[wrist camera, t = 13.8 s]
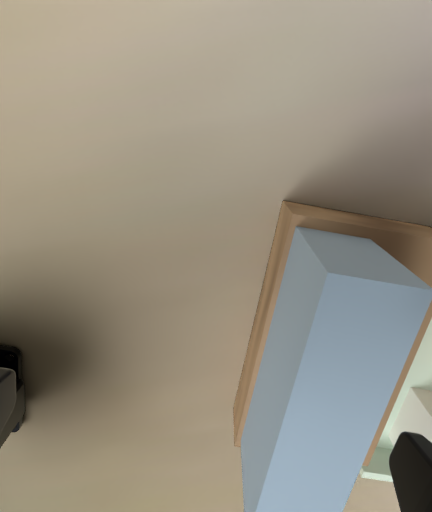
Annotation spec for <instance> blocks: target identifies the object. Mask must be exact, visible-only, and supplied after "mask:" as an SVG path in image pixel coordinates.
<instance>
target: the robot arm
mask: <svg viewBox="0 0 432 512" xmlns="http://www.w3.org/2000/svg"><path fill="white" fill-rule="evenodd" d="M10 354H11V355H13V356H14V357H12V356H11V355H10ZM24 413H25V387H24V382H23V380H22V355H21V352H20V350H19V349H17V348H15V347H10V346H4V345H0V448H1V446H2V445H3V443H4V442H5V441H6V439H7V438H8V436H9V435H10V433H11V432H17V431H18V430H19V429H20V427H21V426H22V423H23V420H22V416H23V415H24ZM389 468H390V472H391V476H392V480H393V483H394V487H395V491H396V495H397V499H398V502H399V506H400V510H401V512H432V443H431V442H430V441H429V440H428V439H427V438H425V437H424V436H423V435H421V434H418V433H413V432H407V431H404V432H402V433H400V435H399V436H398V439H397V441H396V443H395V445H394V447H393V450H392V452H391V454H390V457H389Z"/></svg>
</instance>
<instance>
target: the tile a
mask: <svg viewBox="0 0 432 512" xmlns="http://www.w3.org/2000/svg"><path fill="white" fill-rule="evenodd" d="M404 431H407V432H413V433H418V434H421V435H423V436H424V437H425V438H427V439H428V440H429V441H430V442H431V443H432V391H430V390H424V389H418V388H413V387H410V389H409V391H408V394H407V396H406V398H405V400H404V402H403V405H402V407H401V409H400V411H399V413H398V415H397V418H396V420H395V422H394V424H393V426H392V428H391V431H390V433H389V435H388V436H389V438H390V440H391V442H392V444H393V446H394V445H395V443H396V441H397V439H398V436H399V435H400V433H402V432H404Z"/></svg>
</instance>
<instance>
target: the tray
mask: <svg viewBox="0 0 432 512" xmlns="http://www.w3.org/2000/svg"><path fill="white" fill-rule="evenodd" d="M410 387H413V388H418V389H424V390H430V391H432V318H431V321H430V323H429V325H428V328H427V330H426V332H425V335H424V337H423V339H422V342H421V344H420V346H419V349H418V351H417V353H416V356H415V358H414V360H413V363H412V365H411V367H410V369H409V372H408V374H407V376H406V379H405V381H404V383H403V386H402V388H401V390H400V393H399V395H398V397H397V400H396V402H395V404H394V407H393V409H392V411H391V414H390V416H389V418H388V421H387V423H386V425H385V428H384V430H383V432H382V435H381V437H380V439H379V442H378V444H377V446H376V449H375V451H374V453H373V456H372V458H371V460H370V463H369V465H368V466H363V465H362V467H361V469H360V471H359V473H360V475H361V477H362V478H368V479H375V480H382V481H389V482H393V480H392V476H391V472H390V468H389V457H390V454H391V452H392V450H393V447H394V446H393V444H392V442H391V440H390V438H389V436H388V435H389V433H390V431H391V428H392V426H393V424H394V422H395V420H396V418H397V415H398V413H399V411H400V409H401V407H402V405H403V402H404V400H405V398H406V396H407V394H408V391H409V389H410Z"/></svg>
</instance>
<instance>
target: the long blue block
mask: <svg viewBox="0 0 432 512" xmlns="http://www.w3.org/2000/svg"><path fill="white" fill-rule="evenodd" d="M431 300H432V288H431V287H430V286H429V285H427V284H426V283H425V282H424V281H422V280H421V279H420V278H419V277H417V276H416V275H415V274H414V273H412V272H411V271H410V270H409V269H407V268H406V267H405V266H404V265H402V264H401V263H400V262H398V261H397V260H396V259H395V258H393V257H392V256H391V255H390V254H388V253H387V252H386V251H385V250H383V249H382V248H381V247H380V246H378V245H377V244H376V243H375V242H373V241H372V240H371V239H367V238H361V237H355V236H350V235H344V234H338V233H333V232H327V231H321V230H315V229H310V228H304V227H298V226H296V227H295V231H294V235H293V239H292V243H291V247H290V250H289V254H288V258H287V262H286V266H285V270H284V274H283V278H282V282H281V286H280V289H279V293H278V297H277V301H276V305H275V309H274V313H273V317H272V321H271V324H270V328H269V332H268V336H267V340H266V344H265V348H264V352H263V356H262V360H261V363H260V367H259V371H258V375H257V379H256V383H255V387H254V391H253V395H252V398H251V402H250V406H249V410H248V414H247V418H246V422H245V426H244V430H243V433H242V437H241V458H242V478H243V498H244V512H343V509H344V507H345V505H346V502H347V500H348V497H349V495H350V493H351V490H352V488H353V486H354V483H355V481H356V478H357V476H358V474H359V471H360V469H361V467H362V464H363V462H364V459H365V457H366V455H367V452H368V450H369V447H370V445H371V443H372V440H373V438H374V436H375V433H376V431H377V428H378V426H379V424H380V421H381V419H382V417H383V414H384V412H385V409H386V407H387V405H388V402H389V400H390V398H391V395H392V393H393V390H394V388H395V386H396V383H397V381H398V379H399V376H400V374H401V371H402V369H403V367H404V364H405V362H406V360H407V357H408V355H409V352H410V350H411V348H412V345H413V343H414V341H415V338H416V336H417V333H418V331H419V329H420V326H421V324H422V322H423V319H424V317H425V314H426V312H427V310H428V307H429V305H430V303H431Z"/></svg>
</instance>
